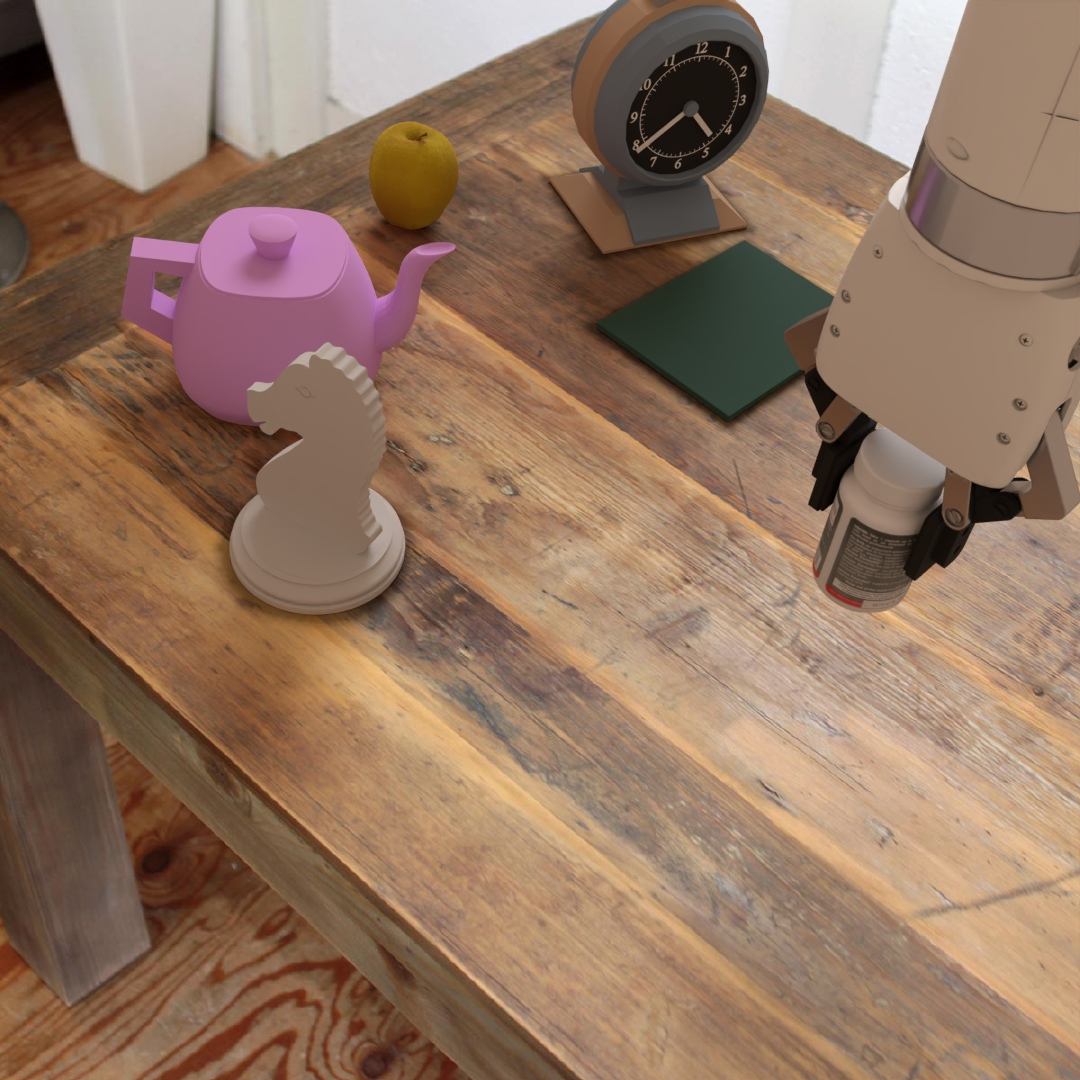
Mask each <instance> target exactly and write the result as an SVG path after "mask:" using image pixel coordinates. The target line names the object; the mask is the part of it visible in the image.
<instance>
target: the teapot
mask: <svg viewBox="0 0 1080 1080" xmlns="http://www.w3.org/2000/svg"><path fill="white" fill-rule="evenodd" d="M456 246H457V245H456V244H454V243H453V242H448V241H437V242H430V243H425V244H422V245H419V246H417V247H415V248H412V250H411V251H409V252H408V253H407V255H406V256H405V257H404V258H403V260H402V262H401V263H400V267H399V272H398V275H397V281H396V285H395V287H394V289H393V290H392V291H391V292H389V293H388V294H386V295H383V296H380V297H377V293H376V291H375V288H374V285H373V282H372V279H371V277H370V275H369V272H368V270H367V268H366V265H365V263H364V261H363V259H362V258H361V256H360V254H359V253H358V251H357V249H356V247H355V245H354V243H353V242H352V240H351V239H350V237H349V235H348V234H347V232H346V230H345V228H343V226H342V225H341V224H340V223H339V222H338V221H337V220H336V219H335V218H333V217H332V216H330V215H328V214H326V213H322V212H319V211H315V210H308V209H301V208H291V207H280V206H245V207H237V208H233V209H230V210H228V211H225V212H224V213H222V214H220V215H219V216H218V217H217V218H215V219H214V221H212V222H211V223H210V225H209V227H208V228H207V229H206V231H205V232H204V235H203V236H202V239H201V240H200V242H199V243H193V242H183V241H175V240H166V239H157V238H149V237H139V236H133V240H132V246H131V249H130V256H129V262H128V269H127V274H126V280H125V287H124V293H123V299H122V306H121V310H120V317H121V318H123V319H125V320H127V321H129V322H130V323H132V324H133V325H136V326H137V327H139V328H141V329H142V330H144V331H145V332H148V333H150V334H152V335H153V336H155V337H157V338H158V339H160V340H162V341H164V342H166V343H167V344H169V345H171V346H172V348H171V349H172V358H173V363H174V369H175V372H176V375H177V378H178V380H179V382H180V384H181V387H182V388H183V390H184V392H185V394H187V396H188V397H189V398H190V399H191V400H192V402H194V403H195V404H196V405H197V406H198V407H199V408H201V409H202V410H204V412H206V413H208V414H209V415H211V416H212V417H214V418H216V419H219V420H221V421H224V422H227V423H231V424H237V425H244V426H252V427H259V425H260V424H261V423H263V422H254V421H253V420H252V419H251V417H250V415H249V413H248V408H247V398H248V395H247V389H249V388H250V387H251V386H252V385H253V384H254V383H255V382H263V383H272V382H275V380H276V379H277V378H278V377H279V375H280V374H281V373H282V371H283V370H284V369H285V368H286V367H288V366H289V365H290V364H291V363H292V362H293V361H294V360H295V359H296V358H298V357H299V356H300V355H302V354H303V353H305V352H316V351H317V350H318V349H319V348H320V347H321V346H323V345H324V344H325V343H327V342H329V343H331V344H332V345H333V346H335V347H342V348H343V349H344V350H345V352H346V354H347V355H349V356H352V357H354V358H355V359H356V360H357V362H358V363H359V364H360V365H361V366H363V367H365V368H366V369H367V374H368V377H369V378H370V379H371V380H372V381H373V382H374V380H375V379H376V376H377V374H378V371H379V368H380V365H381V362H382V359H383V353H384V352H386V351H388V350H390V349H393V348H394V347H396V346H397V345H398V344H399V343H401V341H403V340H404V339H405V338H406V336H407V335H408V334H409V332H410V330H411V329H412V327H413V325H414V322H415V320H416V316H417V313H418V308H419V304H420V303H419V302H420V295H421V289H422V284H423V280H424V278H425V276H426V273H427V272H428V270H429V268H430V267H431V266H432V265H433V264H434V263H435V262H437V261H438V260H440V259H441V258H443V257H445V256H448V255H449V254H450V253H453V252H454V251H455V249H456ZM156 273H159V274H163V275H169V276H175V277H179V278H182V280H181V284H180V286H179V290H178V292H177V297H176V300H175V299H174V298H172V297H170V296H168V295H167V294H164V293H163V292H161V291H159V290H158V289H156V288H155V278H156Z"/></svg>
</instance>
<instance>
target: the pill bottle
mask: <svg viewBox="0 0 1080 1080" xmlns="http://www.w3.org/2000/svg"><path fill="white" fill-rule="evenodd" d="M945 473H946V466H944V465H942V464H941V463H939V462H938V461H936V460H935V459H933V458H931V457H930V456H928V455H927V454H925V453H924V452H922V451H921V450H919V449H918V448H916V447H915V446H913V445H912V444H910V443H909V442H907V441H906V440H904V439H902V438H901V437H899V436H898V435H896V434H895V433H893V432H892V431H890V430H889V429H887V428H886V427H885V426H884V427H881V428H878V429H876V430H875V431H873V432H872V433H870V434H869V435H868V436H867V437H866V438H865V439H864V441H863V443H862V445H861V447H860V450H859V452H858V454H857V456H856V458H855V462H854V463H853V464H852V465H851V466H850V467H849V468H848V469H847V470H846V471H845V473H844V475H843V477H842V479H841V481H840V484H839V487H838V490H837V493H836V496H835V499H834V502H833V504H832V505H831V506H830V510H829V513H828V516H827V519H826V521H825V525H824V527H823V530H822V533H821V536H820V539H819V542H818V544H817V547H816V550H815V553H814V556H813V560H812V565H811V568H812V575H813V578H814V581H815V583H816V585H817V587H818V589H819V590H820V591H821V592H822V593H823V594H824V596H825V597H826V598H828V599H829V600H830V601H831V602H833V603H834V604H836V605H838V606H839V607H842V608H844V609H845V610H849V611H852V612H857V613H863V614H874V613H875V614H876V613H882V612H886V611H889V610H891V609H894V608H895V607H897V606H898V605H899V604H900V603H902V601H904V599H905V597H906V595H907V594H908V592H909V590H910V588H911V585H912V583H913V580H912V579H911V578H909V577H908V576H906V575H905V572H906V571H905V570H903V568H904V566H905V563H906V561H907V559H908V557H909V554H910V552H911V550H912V547H913V545H914V543H915V541H916V538H917V536H918V534H919V531H920V529H921V527H922V525H923V522H924V520H925V518H926V517H927V516H928V515H929V514H930V513H931V512H932V511H933V510H934V509H935V508H937V507H938V506H939V505H940V504H941V503H943V493H944V483H945Z"/></svg>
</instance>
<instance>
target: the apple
mask: <svg viewBox="0 0 1080 1080" xmlns="http://www.w3.org/2000/svg"><path fill="white" fill-rule="evenodd" d="M368 177H369V178H368V179H369V187H370V192H371V195H372V198H373V201H374V204H375V205H376V207H377V209H378V210H379V213H380V214H381V216H382V217H383V218H384V220H386V222H388V223H389V224H391V225H393V226H395V227H398V228H401V229H405V230H407V231H411V230H413V231H415V230H418V229H422V228H426V227H428V226H429V225H431V224H433V223H435V222H437V221H438V220H439V219H440V217H441V216H442V214H443V213H444V211H445V210H446V208H447V207H448V205H450V203H451V201H452V200H453V197H454V195H455V193H456V191H457V188H458V183H459V161H458V158H457V153H456V150H455V148H454V146H453V144H452V143H451V142H450V141H449V139H448V138H447V137H446V136H445V135H444V134H443V133H442V132H440V131H438V130H436V129H434V128H432V127H431V126H429V125H426V124H424V123H420V122H417V121H410V120H409V121H403V122H398V123H394V124H393V125H390V126H389V127H388V128H386V129H384V130H383V131H382V133H380V134H379V136H378V137H377V139H376V141H375V142H374V145H373V147H372V151H371V154H370V158H369V167H368Z"/></svg>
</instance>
